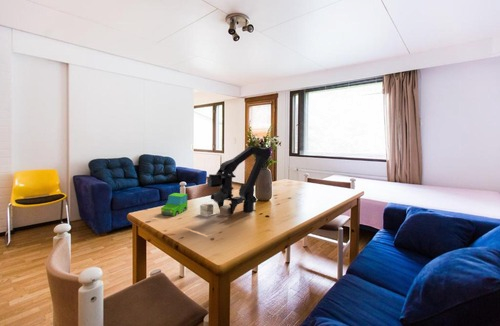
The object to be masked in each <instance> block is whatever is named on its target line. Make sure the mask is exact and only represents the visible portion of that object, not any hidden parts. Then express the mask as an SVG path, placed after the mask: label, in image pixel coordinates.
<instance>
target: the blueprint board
mask: <svg viewBox="0 0 500 326" xmlns="http://www.w3.org/2000/svg"><path fill="white" fill-rule="evenodd" d="M216 214H217V213H216V212H213V214H211V215H208V216H206V215H202V214H200V212H199V213H198V215H199V216H203V217H207V218H208V217H210V216H213V215H216Z"/></svg>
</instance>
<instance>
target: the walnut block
mask: <svg viewBox="0 0 500 326" xmlns="http://www.w3.org/2000/svg"><path fill="white" fill-rule="evenodd" d="M219 215H221V216H225V217H229V216H232V215H231V213H230V205H229V204H225V205H223V206H222V207H220V209H219Z"/></svg>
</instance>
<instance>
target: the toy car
mask: <svg viewBox="0 0 500 326" xmlns="http://www.w3.org/2000/svg"><path fill="white" fill-rule="evenodd" d="M160 208H161V209H160V211H161V213H160V214H161V215H165V216H173V217H174V216H175V217H176V216H179V214H181V213H183V212H186V211H187V210H188V194H187V193H180V192H173V193H170V194H169V195H168V197H167V202H165V205H163V206H162V207H160Z"/></svg>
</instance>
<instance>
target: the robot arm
mask: <svg viewBox="0 0 500 326" xmlns="http://www.w3.org/2000/svg"><path fill="white" fill-rule="evenodd" d="M252 155H255V162H254V164H253V167H252V169H251V170H250V173H249V176H248V178H247V181H246V183H244V184H241V185H240V188H239V189H238V196H235V197H234V194H232V193H233V190H234V187H233V178H236V175H235V174H234V172H235V171H236V170H237V168H238V166H239V165H240V164H241V163H243V162H245V161H246V160H247V159H248V158H250V157H251V156H252ZM271 155H272V152H271V150H270V149H269V148H266V147H256V146H251V145H250V146H248V147H246V148H245V149H244V150H243V151H242V152H240V153H239V154H237V155H236V156H235V157H233V158H231V159H229V160H226V161H224V162H222V163H221V164H220V167H219V169H218V170H217V172H216V173H215V174H212V173H211V174H209V175H208V177H207V181H206V183H207V187H208V188H219V191H217V192H214V193H211V195H210V200H213V202H215V203H216V204H217V206H218V209H219V210H220V207H222V206H224V202H225V201H230V203H229V204H228V206H230V213H231V215H230V216H232V215H233V214H234V212H235V210H236V208H237V206H238V205H241V204H242V213H243V212H244V213H252V212H256V211H257V210H255V209H254V207H255V205H254V204H255V203H256V202H257V201H258V198H257V197H256V196H255V195H254V193H255V185H256V183H257V180H258V178H259V176H260V173H261V171H262V169H263V168H262V167H263V166H264V164H265V163H266V162H267V161H268V160H269V159H270V156H271Z"/></svg>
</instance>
